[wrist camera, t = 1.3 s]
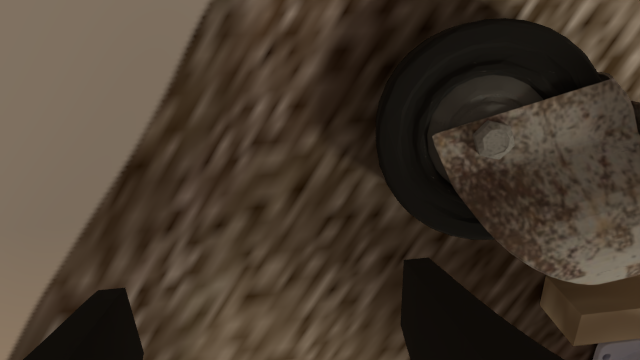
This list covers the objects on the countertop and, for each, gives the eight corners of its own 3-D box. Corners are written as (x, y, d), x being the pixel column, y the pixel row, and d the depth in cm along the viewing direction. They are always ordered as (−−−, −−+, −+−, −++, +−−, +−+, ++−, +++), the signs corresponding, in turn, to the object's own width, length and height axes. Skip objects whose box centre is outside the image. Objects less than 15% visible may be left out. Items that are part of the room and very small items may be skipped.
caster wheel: (352, 61, 20) (582, -20, 19) (419, 274, 23) (625, 222, 21) (344, 67, 14) (693, -54, 12) (438, 361, 17) (735, 298, 15)
